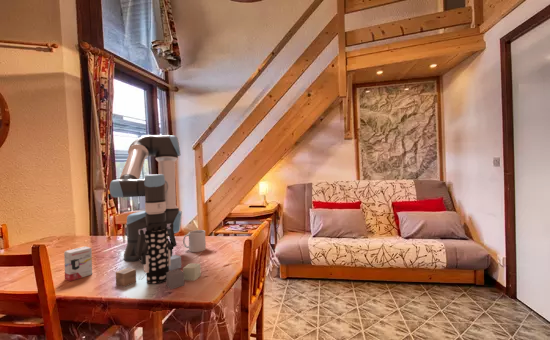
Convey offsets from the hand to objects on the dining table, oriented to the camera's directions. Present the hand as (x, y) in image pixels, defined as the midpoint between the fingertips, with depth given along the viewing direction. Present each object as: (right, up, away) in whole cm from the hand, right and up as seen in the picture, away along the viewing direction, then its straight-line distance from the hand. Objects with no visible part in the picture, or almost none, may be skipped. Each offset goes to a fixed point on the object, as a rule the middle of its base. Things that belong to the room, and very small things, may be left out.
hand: (157, 268), depth 108 cm
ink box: (-36, -6, +6) cm, 38 cm away
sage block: (+14, -5, +2) cm, 14 cm away
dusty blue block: (+1, -5, +13) cm, 14 cm away
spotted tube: (0, -5, 0) cm, 5 cm away
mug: (+3, -5, +40) cm, 41 cm away
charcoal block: (+9, -5, -5) cm, 11 cm away
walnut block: (-12, -5, -2) cm, 13 cm away
